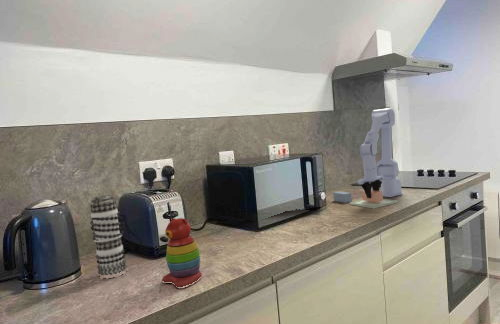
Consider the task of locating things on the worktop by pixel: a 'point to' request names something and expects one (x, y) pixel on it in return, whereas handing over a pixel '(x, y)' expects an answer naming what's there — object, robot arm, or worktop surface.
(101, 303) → the worktop surface
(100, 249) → the decorative candle
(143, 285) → the worktop surface
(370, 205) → the baseplate
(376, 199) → the coral brick
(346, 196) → the slate brick
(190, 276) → the stacking bear
